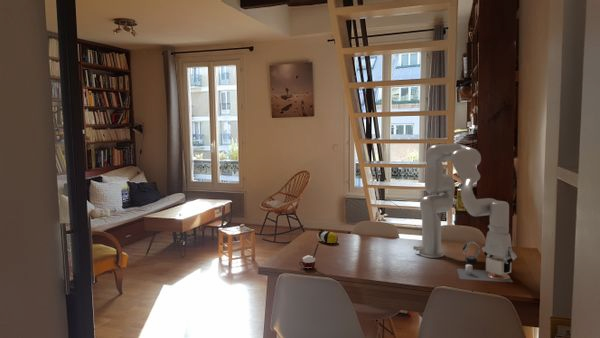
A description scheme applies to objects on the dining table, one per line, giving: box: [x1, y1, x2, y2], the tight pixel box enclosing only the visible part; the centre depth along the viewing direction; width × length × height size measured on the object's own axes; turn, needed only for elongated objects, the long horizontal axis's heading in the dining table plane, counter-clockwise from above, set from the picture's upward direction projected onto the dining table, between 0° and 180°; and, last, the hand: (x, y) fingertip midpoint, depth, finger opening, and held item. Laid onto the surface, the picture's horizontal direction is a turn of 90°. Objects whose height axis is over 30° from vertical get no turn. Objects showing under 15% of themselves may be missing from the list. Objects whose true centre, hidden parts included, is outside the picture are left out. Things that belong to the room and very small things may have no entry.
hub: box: [487, 273, 511, 280], centre depth 184 cm, size 9×9×6 cm
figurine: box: [316, 228, 339, 244], centre depth 254 cm, size 8×15×8 cm, turn 44°
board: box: [456, 263, 514, 283], centre depth 186 cm, size 21×14×6 cm, turn 74°
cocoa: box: [299, 242, 319, 268], centre depth 206 cm, size 10×6×12 cm, turn 70°
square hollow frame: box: [485, 256, 512, 275], centre depth 184 cm, size 7×7×6 cm
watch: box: [461, 241, 481, 264], centre depth 205 cm, size 6×8×11 cm
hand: (498, 269), depth 184 cm, fingers closed on square hollow frame, 7 cm apart
